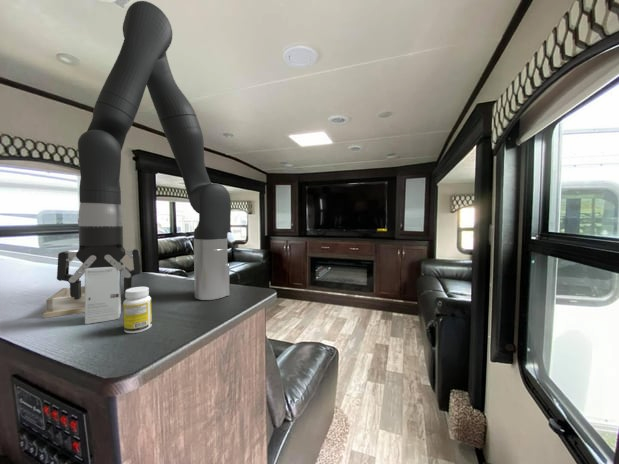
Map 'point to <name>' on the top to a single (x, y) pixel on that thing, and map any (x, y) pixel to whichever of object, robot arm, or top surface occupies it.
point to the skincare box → (102, 294)
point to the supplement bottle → (137, 310)
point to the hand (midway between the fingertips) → (103, 295)
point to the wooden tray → (64, 303)
